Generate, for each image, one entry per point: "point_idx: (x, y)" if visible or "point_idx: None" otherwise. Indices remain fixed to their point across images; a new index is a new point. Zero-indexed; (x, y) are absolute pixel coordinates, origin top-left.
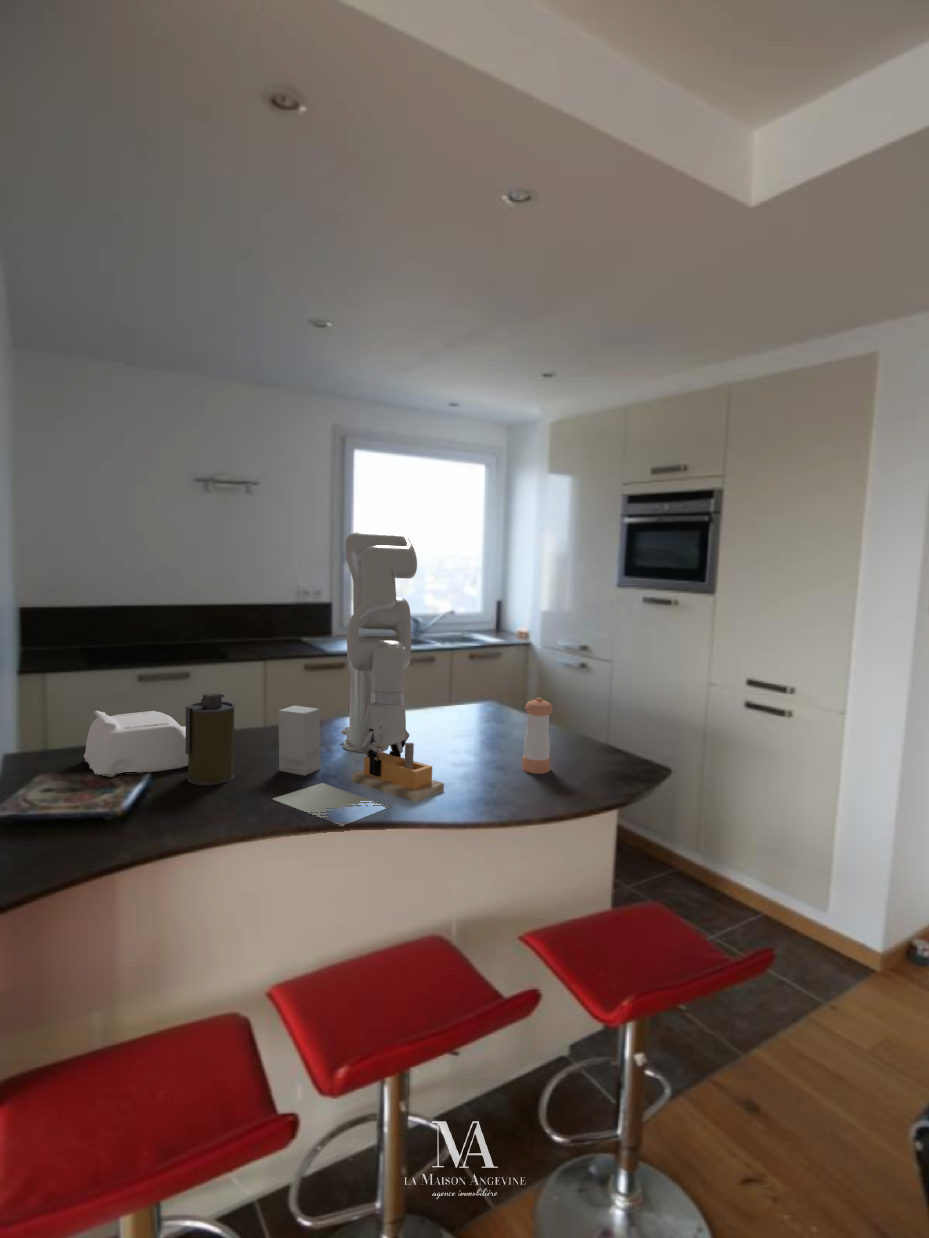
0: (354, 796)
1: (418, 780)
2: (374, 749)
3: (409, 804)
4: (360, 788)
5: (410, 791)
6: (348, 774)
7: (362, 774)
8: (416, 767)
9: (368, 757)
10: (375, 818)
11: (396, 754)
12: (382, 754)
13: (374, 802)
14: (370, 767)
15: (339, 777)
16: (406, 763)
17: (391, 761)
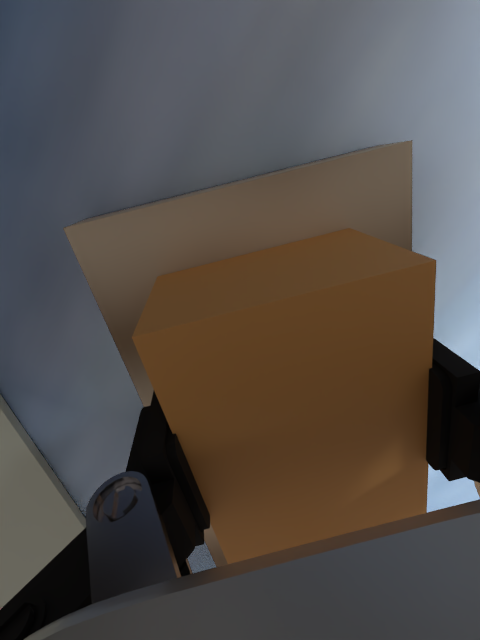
0: (6, 453)
1: None
2: (178, 572)
3: (203, 559)
4: (96, 347)
5: None
6: (133, 15)
7: (139, 285)
8: None
9: (101, 496)
10: None
11: (436, 456)
12: (369, 343)
13: (75, 531)
14: (139, 432)
15: (27, 47)
16: None
17: (292, 527)
